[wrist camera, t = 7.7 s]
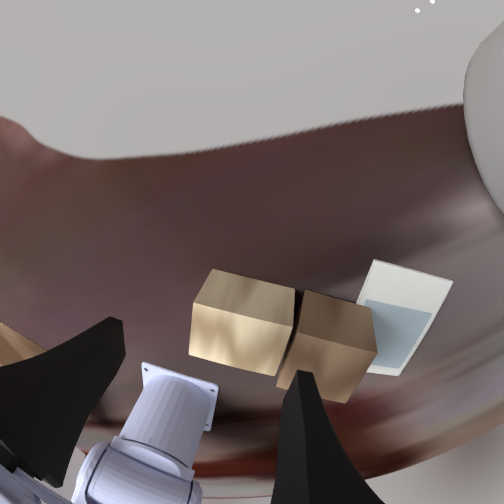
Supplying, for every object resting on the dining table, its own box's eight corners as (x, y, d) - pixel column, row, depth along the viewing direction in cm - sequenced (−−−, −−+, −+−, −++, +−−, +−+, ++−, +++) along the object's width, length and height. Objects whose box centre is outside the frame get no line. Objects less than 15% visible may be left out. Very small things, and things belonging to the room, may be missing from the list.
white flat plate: (397, 373, 23) (398, 376, 23) (327, 363, 24) (327, 366, 23) (451, 280, 19) (453, 282, 19) (373, 258, 19) (375, 261, 19)
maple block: (274, 376, 19) (188, 354, 19) (279, 335, 23) (206, 316, 23) (293, 327, 17) (193, 302, 17) (294, 288, 21) (212, 268, 22)
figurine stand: (91, 414, 35) (73, 443, 30) (19, 372, 36) (0, 394, 31) (73, 364, 30) (48, 396, 25) (-3, 319, 31) (-27, 342, 25)
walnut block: (345, 403, 18) (276, 386, 19) (345, 356, 22) (287, 341, 23) (377, 353, 16) (298, 332, 17) (370, 307, 20) (305, 289, 21)
